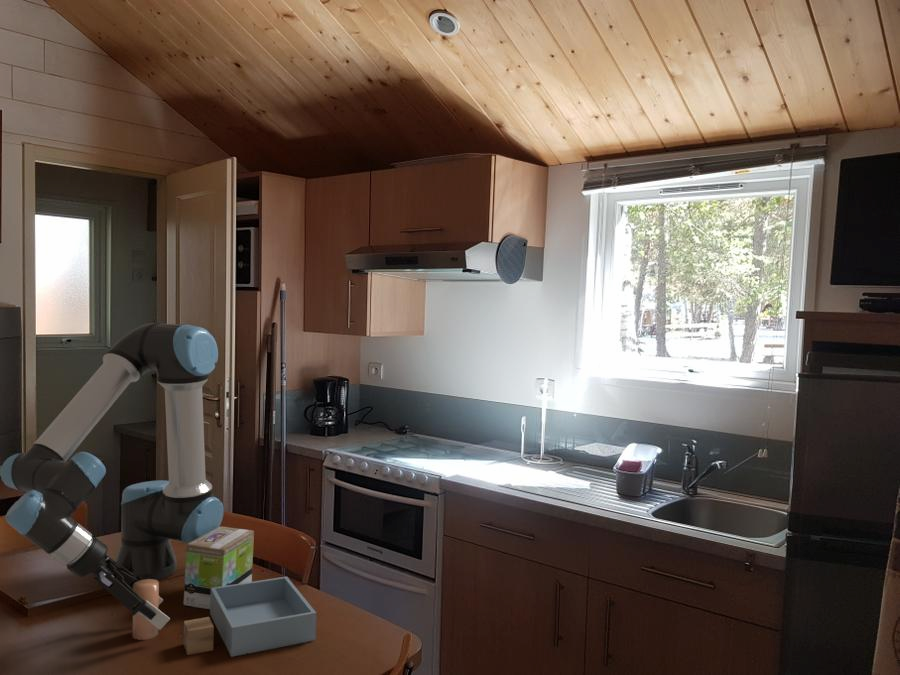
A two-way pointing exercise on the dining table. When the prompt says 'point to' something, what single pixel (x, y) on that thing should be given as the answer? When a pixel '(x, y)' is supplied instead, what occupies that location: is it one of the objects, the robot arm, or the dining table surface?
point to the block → (198, 635)
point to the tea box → (217, 563)
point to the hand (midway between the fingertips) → (161, 614)
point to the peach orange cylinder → (150, 592)
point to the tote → (262, 615)
